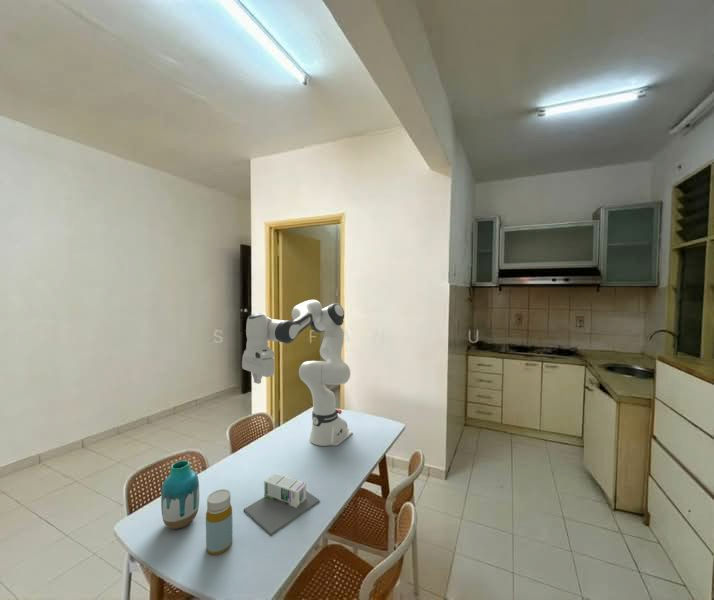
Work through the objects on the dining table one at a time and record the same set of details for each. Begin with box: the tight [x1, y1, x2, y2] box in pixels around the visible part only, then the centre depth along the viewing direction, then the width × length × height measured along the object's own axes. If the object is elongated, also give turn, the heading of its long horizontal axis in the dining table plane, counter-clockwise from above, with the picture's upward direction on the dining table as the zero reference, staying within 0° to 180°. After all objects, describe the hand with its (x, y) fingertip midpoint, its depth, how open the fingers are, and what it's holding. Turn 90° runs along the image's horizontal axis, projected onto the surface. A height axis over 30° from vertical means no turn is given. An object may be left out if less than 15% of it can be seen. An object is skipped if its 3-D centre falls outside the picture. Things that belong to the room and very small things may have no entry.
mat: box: [243, 490, 321, 536], centre depth 107 cm, size 20×16×1 cm
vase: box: [160, 459, 200, 530], centre depth 99 cm, size 11×11×19 cm
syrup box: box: [263, 472, 307, 508], centre depth 111 cm, size 6×6×14 cm
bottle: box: [205, 488, 233, 556], centre depth 91 cm, size 7×7×15 cm
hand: (257, 382), depth 134 cm, fingers closed
